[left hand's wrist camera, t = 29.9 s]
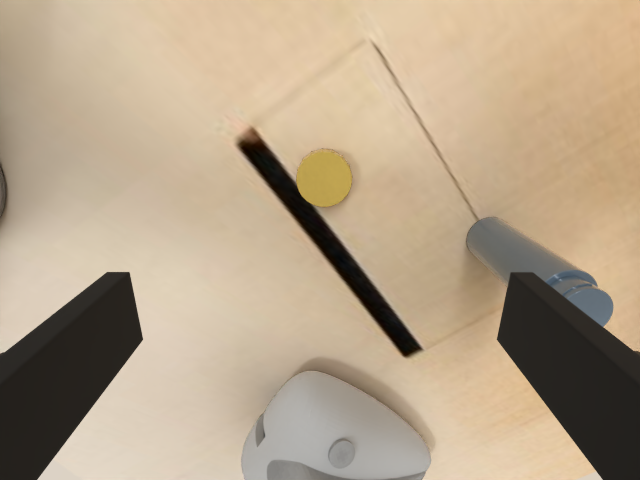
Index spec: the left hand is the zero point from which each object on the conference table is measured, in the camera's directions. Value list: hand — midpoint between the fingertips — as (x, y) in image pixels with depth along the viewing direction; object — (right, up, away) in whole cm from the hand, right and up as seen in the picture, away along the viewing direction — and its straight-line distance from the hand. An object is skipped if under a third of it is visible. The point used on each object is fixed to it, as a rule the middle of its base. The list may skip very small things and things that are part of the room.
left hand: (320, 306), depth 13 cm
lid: (0, +8, +22) cm, 24 cm away
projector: (+3, -22, +36) cm, 42 cm away
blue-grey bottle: (+18, +3, +26) cm, 32 cm away
